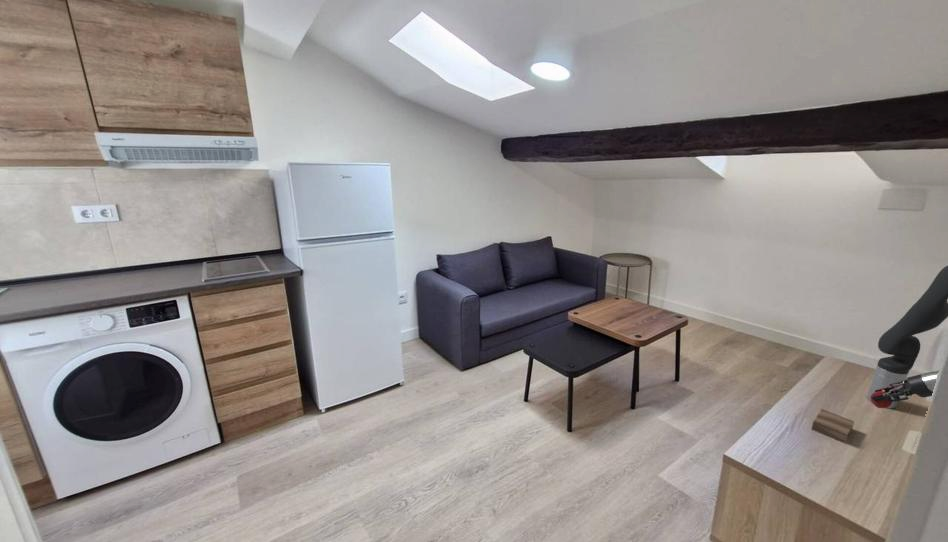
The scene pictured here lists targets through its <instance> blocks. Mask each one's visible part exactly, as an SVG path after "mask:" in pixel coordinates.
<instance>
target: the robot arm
mask: <svg viewBox="0 0 948 542" xmlns="http://www.w3.org/2000/svg"><path fill="white" fill-rule="evenodd" d="M947 318H948V265H946V266H944V267H943V268H941V270H940V271H939V272H938V273H937V275H936V276H935V278H934V279H933V281H932V282H931V284H930V285H929V286H928V288H927V289H926V291H925V292H924V293H923V294H922V295H921V297H920V298H919V299H918V300H917V301H916V302H915V303H914V304H913V305H912V306H910V308H909V309H908V310H907V312H906V313H905V314H904V315H903V316H902V317H901V318H900V320H898V321H897V322H896V323H895V324H894V325H893V326H892V327H890V328H889V329H888V330H886V331H885V332H884V333H883V334H882V335H881V336H880V337H879V339H878V345H877V347H878V349H879V351H880V352H882V353H883V354H886V355H891V356H886V357H882V358H879V359H878V361H877V364H876V368H875V372H874V373H873V377H872V380H871V383H870V385H869V389H868V392H867V395H866V399H867V400H868V401H869V402H870V403H872V402H871V399H870V396H871V395H872V394H873V393H875V392H878V391H882V390H885V392H886V393H885V394H881V395H877V396H872V399H873V400H874V401H875V402H881V401H886V400H888V402H892V405H891V406H890V407H887V408H886V409H896V408H897V406H898V402H901V401H907V400H909V397H912V395H917V396H919V398H920V397H921V398H924V399H925V398H928V397H933V396H932V393H933V389H934V386H935V383H936V379H937V375H938V372H939V371H940V370H936V371H930V372H923V373H920V374H917V375H916V374H915V375H913V376H909V373H910V371H911V369H912V368H913V367H914V365H915V362H916V360H917V358H918V356H919V354H920V351H921V342H920V339H919V338H918V337H916V336H915V335H918V334H921V333H924V332H928V331H931V330H933V329H935V328H937V327H938V326H940V325H941V324H942V323H943V322H944V321H945V320H946V319H947ZM890 397H891V398H890Z"/></svg>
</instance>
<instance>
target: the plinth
mask: <svg viewBox="0 0 948 542" xmlns="http://www.w3.org/2000/svg"><path fill="white" fill-rule="evenodd" d="M854 424H855V421H854V420H851V419H849V418H846V417H844V416H841V415H839V414H837V413H834V412H831V411H828V410H825V409H820V411H819V412H818V414H817V415H816V417H815V419H814V420H813V422H812V426H811V430H812V431H815V432H817V433H820V434H822V435H824V436H827V437H829V438H831V439H834V440H836V441H838V442H840V443H843V444H845V443H846V441H847V440H848V437H849V436H850V433H852V430H853V427H854Z"/></svg>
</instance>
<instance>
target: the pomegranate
mask: <svg viewBox="0 0 948 542" xmlns="http://www.w3.org/2000/svg"><path fill="white" fill-rule="evenodd" d="M885 393H886V392H885V390H882V391H878V392H875V393H873V394H872V395H871V396H870V399H871V402H870V403H872V405H874V406H875V407H876V408H877V409H885V408H886V409H888V408H887V407H890V406H891V405H892V402H888V400H886V401H881V402H875V401H874V400H873V399H872V396H877V395H881V394H885ZM890 398H891V397H890Z"/></svg>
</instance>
